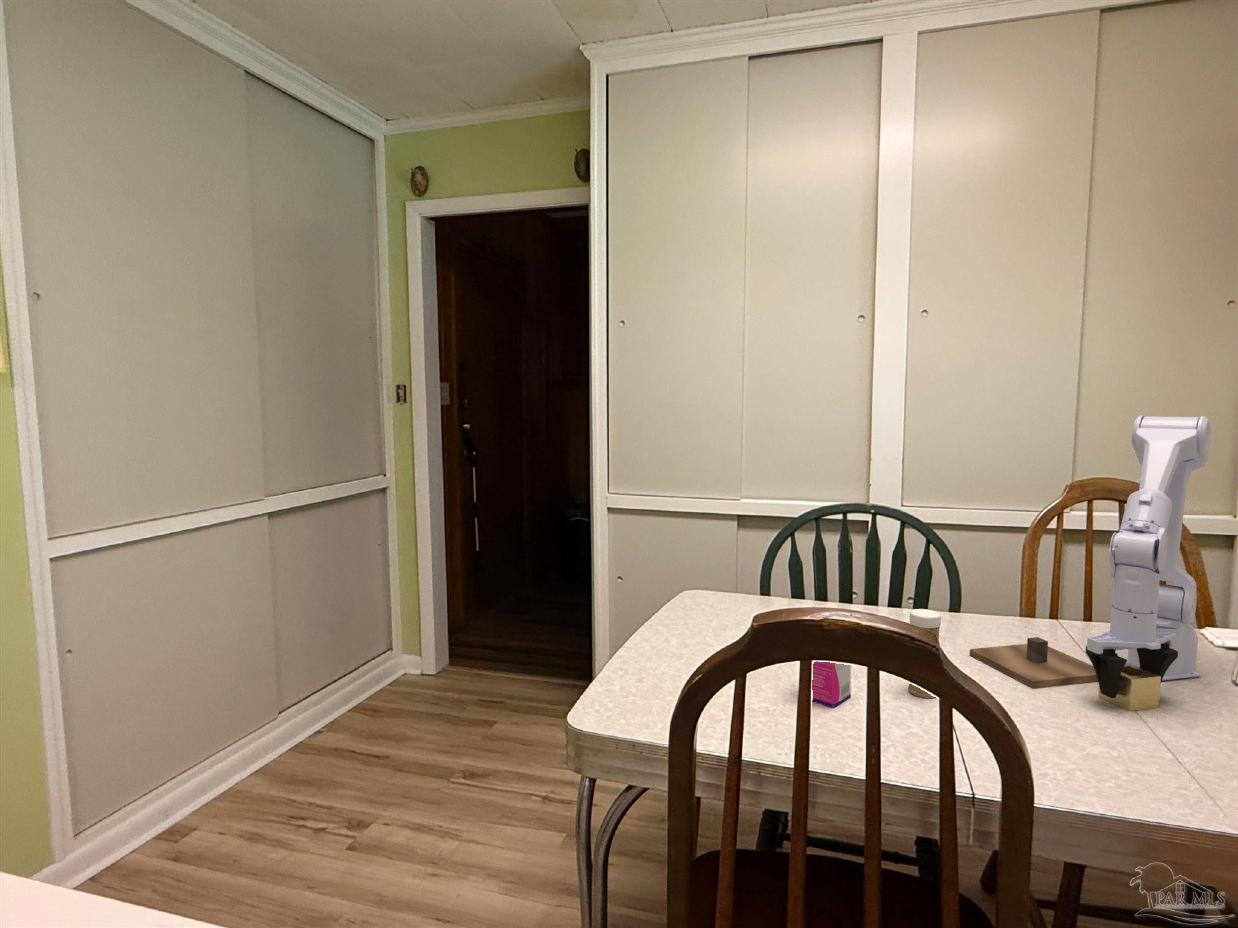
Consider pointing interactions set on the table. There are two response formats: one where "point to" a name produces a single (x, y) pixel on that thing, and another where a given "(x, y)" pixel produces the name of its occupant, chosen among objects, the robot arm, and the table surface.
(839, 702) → the supplement box
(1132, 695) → the small tan open box
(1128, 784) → the table surface
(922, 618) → the sprinkles bottle
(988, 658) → the post stand
